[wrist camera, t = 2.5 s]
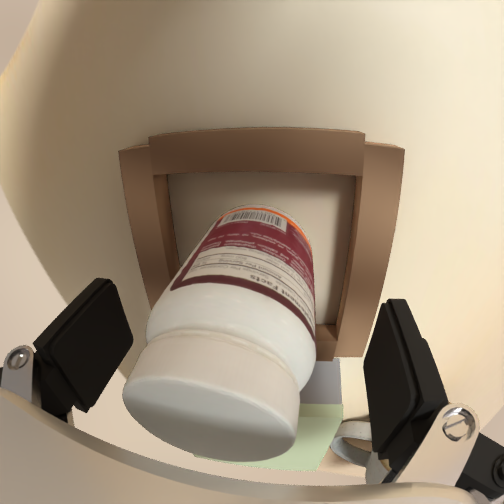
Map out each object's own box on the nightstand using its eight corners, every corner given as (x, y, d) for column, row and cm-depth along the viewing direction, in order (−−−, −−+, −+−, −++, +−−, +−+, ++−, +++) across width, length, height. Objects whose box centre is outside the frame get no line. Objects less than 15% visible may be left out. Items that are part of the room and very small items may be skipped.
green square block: (185, 344, 16) (161, 396, 13) (340, 358, 15) (343, 417, 11) (207, 416, 20) (194, 456, 17) (318, 428, 19) (315, 471, 16)
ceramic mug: (461, 379, 15) (484, 467, 8) (440, 427, 18) (450, 495, 11) (325, 407, 18) (318, 503, 11) (333, 447, 21) (328, 518, 14)
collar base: (132, 138, 11) (117, 142, 10) (394, 135, 9) (405, 138, 8) (169, 329, 16) (161, 343, 15) (358, 345, 14) (360, 361, 13)
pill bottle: (261, 312, 14) (224, 473, 7) (187, 251, 13) (86, 397, 6) (336, 255, 12) (358, 443, 5) (255, 177, 11) (162, 323, 4)
